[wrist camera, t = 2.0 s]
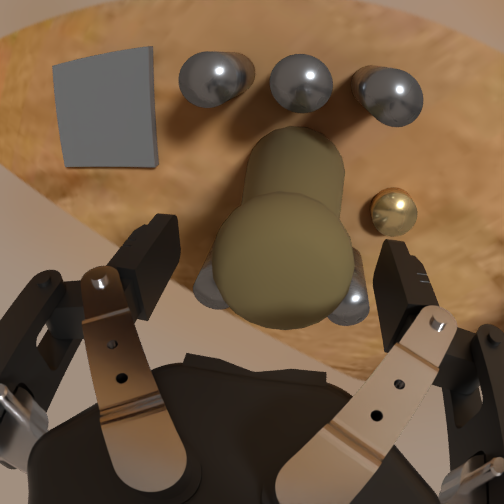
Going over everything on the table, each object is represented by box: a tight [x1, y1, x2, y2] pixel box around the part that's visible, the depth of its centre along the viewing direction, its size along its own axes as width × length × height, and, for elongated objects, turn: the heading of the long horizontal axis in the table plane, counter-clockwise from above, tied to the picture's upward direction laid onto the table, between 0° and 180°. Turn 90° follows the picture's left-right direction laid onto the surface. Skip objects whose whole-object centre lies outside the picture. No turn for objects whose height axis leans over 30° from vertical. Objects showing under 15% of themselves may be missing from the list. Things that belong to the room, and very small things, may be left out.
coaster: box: [52, 46, 159, 167], centre depth 18 cm, size 8×8×1 cm
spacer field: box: [179, 52, 423, 326], centre depth 17 cm, size 11×15×5 cm
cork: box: [212, 126, 355, 330], centre depth 15 cm, size 6×6×11 cm
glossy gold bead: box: [370, 188, 417, 237], centre depth 19 cm, size 3×3×1 cm
